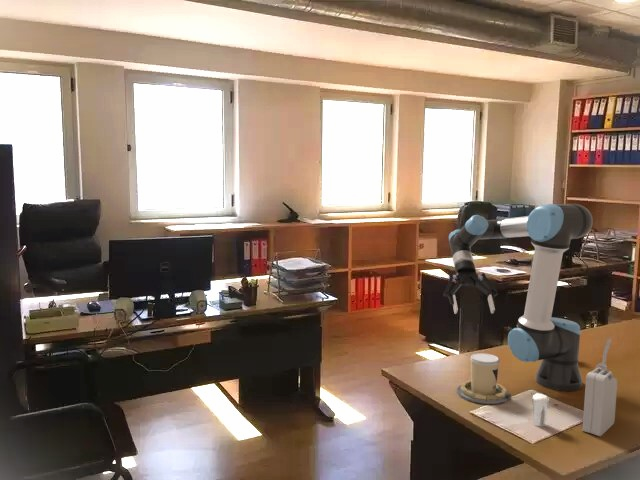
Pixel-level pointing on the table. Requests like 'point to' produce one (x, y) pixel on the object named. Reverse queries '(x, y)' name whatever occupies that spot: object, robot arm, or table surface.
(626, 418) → the table surface
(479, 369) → the coffee cup
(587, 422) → the fuel canister
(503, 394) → the carrier plate
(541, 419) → the milkshake
